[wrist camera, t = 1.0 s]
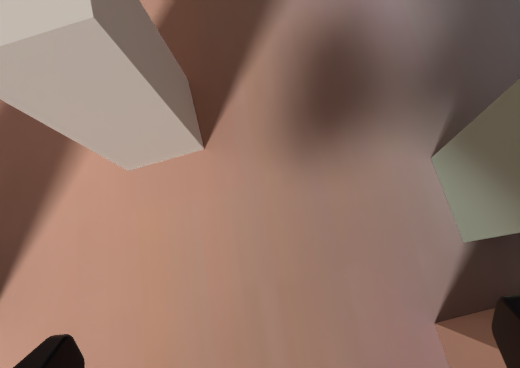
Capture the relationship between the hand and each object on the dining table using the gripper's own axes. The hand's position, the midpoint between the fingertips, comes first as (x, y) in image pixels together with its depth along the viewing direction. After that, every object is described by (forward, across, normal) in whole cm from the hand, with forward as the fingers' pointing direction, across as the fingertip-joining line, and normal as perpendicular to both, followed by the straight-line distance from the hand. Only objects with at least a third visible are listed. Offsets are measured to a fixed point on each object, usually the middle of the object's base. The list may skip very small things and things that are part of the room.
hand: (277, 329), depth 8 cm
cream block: (+18, +7, +1) cm, 19 cm away
